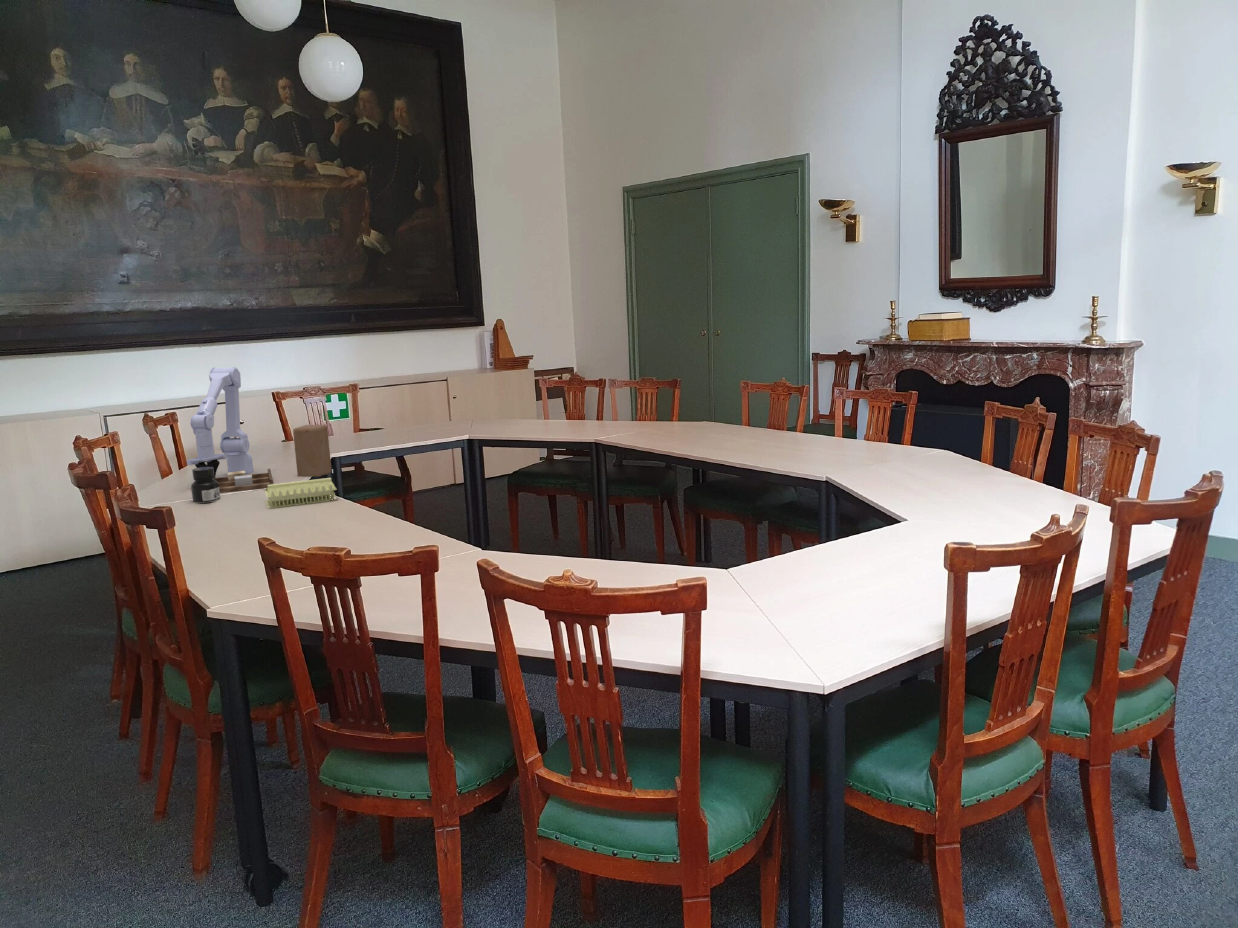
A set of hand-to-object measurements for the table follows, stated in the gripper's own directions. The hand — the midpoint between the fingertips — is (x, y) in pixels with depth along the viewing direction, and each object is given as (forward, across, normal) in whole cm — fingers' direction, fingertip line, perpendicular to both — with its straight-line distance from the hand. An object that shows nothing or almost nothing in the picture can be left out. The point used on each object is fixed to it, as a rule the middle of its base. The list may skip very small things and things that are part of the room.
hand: (209, 480), depth 333 cm
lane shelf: (+3, -6, +10) cm, 12 cm away
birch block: (+2, -5, +4) cm, 7 cm away
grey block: (+2, -4, +16) cm, 16 cm away
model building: (+3, -4, +52) cm, 52 cm away
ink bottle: (+3, +14, +22) cm, 26 cm away
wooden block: (+3, -34, +19) cm, 38 cm away
